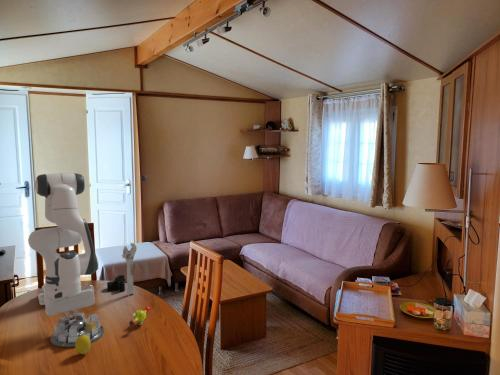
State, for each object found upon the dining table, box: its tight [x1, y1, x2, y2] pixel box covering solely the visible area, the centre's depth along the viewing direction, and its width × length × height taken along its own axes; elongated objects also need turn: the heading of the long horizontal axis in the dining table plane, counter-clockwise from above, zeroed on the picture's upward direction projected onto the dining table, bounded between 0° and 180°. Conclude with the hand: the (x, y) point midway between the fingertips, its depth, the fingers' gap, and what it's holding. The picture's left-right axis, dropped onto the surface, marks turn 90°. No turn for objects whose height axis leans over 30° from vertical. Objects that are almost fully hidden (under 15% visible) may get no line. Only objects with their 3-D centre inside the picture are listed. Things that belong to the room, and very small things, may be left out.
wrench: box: [121, 242, 137, 297], centre depth 211 cm, size 8×2×30 cm, turn 134°
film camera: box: [106, 274, 126, 293], centre depth 221 cm, size 15×10×9 cm, turn 21°
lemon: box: [74, 335, 92, 355], centre depth 152 cm, size 6×6×8 cm
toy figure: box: [128, 306, 151, 327], centre depth 179 cm, size 18×6×7 cm, turn 169°
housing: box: [49, 319, 105, 349], centre depth 168 cm, size 21×21×6 cm
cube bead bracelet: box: [53, 312, 101, 343], centre depth 168 cm, size 18×18×6 cm
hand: (71, 319), depth 173 cm, fingers closed
